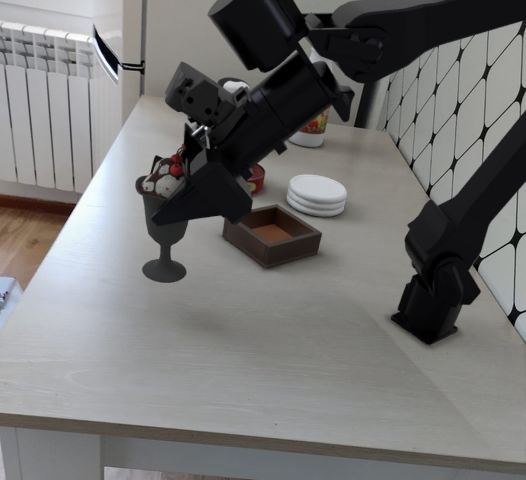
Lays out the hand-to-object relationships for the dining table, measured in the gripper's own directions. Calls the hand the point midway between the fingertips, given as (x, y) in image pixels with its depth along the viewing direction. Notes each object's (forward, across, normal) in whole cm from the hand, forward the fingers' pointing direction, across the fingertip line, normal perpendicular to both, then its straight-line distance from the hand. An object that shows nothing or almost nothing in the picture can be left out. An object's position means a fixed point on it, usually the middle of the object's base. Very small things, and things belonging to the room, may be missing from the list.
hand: (154, 207), depth 61 cm
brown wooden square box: (-2, -18, +21) cm, 28 cm away
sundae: (+4, 0, +6) cm, 8 cm away
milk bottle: (-12, -67, +31) cm, 75 cm away
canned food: (0, -40, +19) cm, 44 cm away
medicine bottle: (0, -60, +19) cm, 63 cm away
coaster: (-9, -34, +28) cm, 45 cm away
